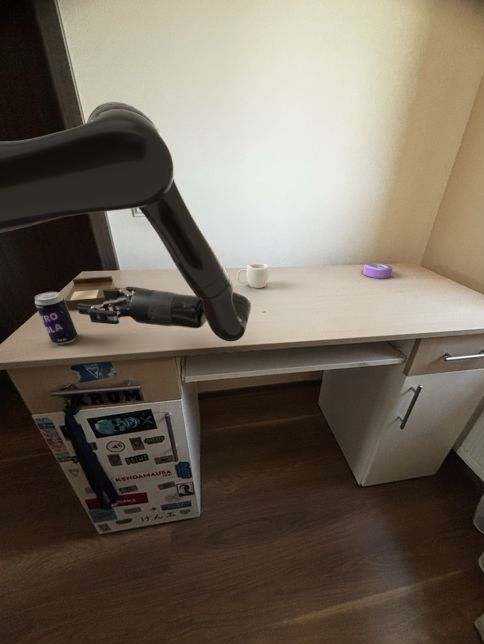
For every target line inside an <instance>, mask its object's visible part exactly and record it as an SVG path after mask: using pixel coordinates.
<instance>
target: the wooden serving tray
mask: <svg viewBox="0 0 484 644" xmlns="http://www.w3.org/2000/svg"><path fill="white" fill-rule="evenodd" d="M72 283H73V284H72V286H71V289H70V290H69V292H68V294H67V295H66V297H65V298H64V300H65V303H66V305H67V308H68V311H72V310H73V311H74V310H78V309H77V305H78V304H79V303H81V304H90V305H100V304H103V302H105V301H111V300H114V299H106V298H105V297H104V294H103V290H105V289H112V290H116V286H115V283H114V278H113V275H105V276H90V277H75V278H72ZM108 307H112V305H109V306H108Z"/></svg>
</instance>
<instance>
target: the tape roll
mask: <svg viewBox="0 0 484 644" xmlns="http://www.w3.org/2000/svg"><path fill="white" fill-rule="evenodd" d="M392 272H393V266H391V265H389V264H387V263H383V262H375V261H373V262H372V261H371V262H366V263H364V266H363V270H362V274H363V275H364V276H366V277H369V278H374V279H389V278H390V277H391V275H392Z"/></svg>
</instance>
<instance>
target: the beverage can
mask: <svg viewBox="0 0 484 644" xmlns="http://www.w3.org/2000/svg"><path fill="white" fill-rule="evenodd" d="M34 305H35V308H36V310H37V312H38V314H39V316H40V319H41V321H42V323H43V325H44V327H45V330H46V332H47V335H48V336H49V338H50V339H49V340H50V341H51V342H52V343H55V344H57V345H67V344H71V343H72V342H74V341H75V340H76V339H77V337H78V332H77V329H76V327H75V324H74V322H73V319H72V316H71V314H70V313H71V312H70V310H68V308H67V305H66V303H65V298H64V297H63V296H62V295H61V293H60V292H58V291H46V292H43V293H39V294H37V295H35V296H34Z"/></svg>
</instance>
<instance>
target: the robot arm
mask: <svg viewBox="0 0 484 644" xmlns="http://www.w3.org/2000/svg"><path fill="white" fill-rule="evenodd" d="M172 154H173V153H172V151H171V149H170V147H169V145H168V143H167V141H166V139H165V138H164V136H163V135H162V134H161V132H160V130H159V129H158V128H157V126H156V125H155V123H154V122H153V121H152V120H151V119H150V117H149V116H147V115H146V114H145V113H144V112H143V111H141V110H139V109H138V108H136V107H134V106H132V105H131V104H127V103H125V102H122V101H121V102H120V101H108V102H104V103H102V104H99V105H98V106H97V107H95V108H94V109H93V110H92V112H91V113H90V115H89V116H88V119H87V121H86V123H83V124H80V125H77V126H75V127H72V128H68V129H65V130H62V131H58V132H57V131H56V132H53V133H49V134H46V135H42V136H38V137H34V138H28V139H22V140H21V139H20V140H13V141H12V140H11V141H7V140H6V141H0V234H2V233H6V232H11V231H16V230H20V229H23V228H28V227H32V226H36V225H39V224H42V223H43V224H44V223H46V222H49V221H52V220H53V221H54V220H57V219H62V218H66V217H67V218H68V217H72V216H73V217H74V216H79V215H87V214H94V213H95V214H96V213H105V212H113V211H123V210H133V209H138V210H139V211H140V212H141V213H142V214H143V215H144V217H145V218H146V220H147V221H148V222H149V224H150V225H151V227H152V229H154V231H155V233H156V234H157V236H158V238H159V239H160V241H161V242H162V244H163V246H164V247H165V249H166V251H167V253H168V254H169V256H170V258H171V260H172V262H173V263H174V265H175V267H176V268H177V270H178V272H179V273H180V275H181V276H182V278H183V280H184V281H185V282H186V284H187V285H188V287H189V288H190V290H191V291H192V292H193V294H194V295H193V294H187V293H177V292H174V291H173V292H172V291H168V290H157V289H149V288H144V287H136V286H126V287H125V289H123V288H119V289H115V290H112V289H105V290H103V294H104V297H105V298H106V299H113V300H111V301H105V302H103V304H100V305H90V304H81V303H79V304H78V305H77V309H76V310H77V312H78V314H79V315H85V316H89V319H90V323H94V324H95V323H96V324H107V325H118V324H120V320H119V319H120V318H128V317H130V318H131V319H132V320H133V321H135V322H136V323H138V324H146V325H152V326H153V325H154V326H161V327H178V328H179V327H180V328H181V327H182V328H188V329H200V328H202V327H203V326H204V325H205V324H206V323H207V325H208V326H209V329H210V330H211V331H212V333H213V334H214V335H215V336H216V337H218V338H219V339H221V340H223V341H225V342H236V341H239V340H241V338H242V337H243V336H244V335H245V333H246V330H247V325H248V322H249V318H250V314H251V310H252V303H251V300H250V299H249V297H248V296H247V295H245V294H244V293H242V292H239V291H235V290H234V286H233V285H234V284H233V282H232V280H231V278H230V276H229V274H228V272H227V270H226V268H225V267H224V265H223V263H222V261H221V259H220V257H219V256H218V254H217V252H216V251H215V249H214V248H213V246H212V245H211V243H210V241H209V240H208V238H207V237H206V235H205V234H204V232H203V231H202V229H201V228H200V225H199V224H198V223H197V221H196V220H195V218H194V215H193V214H192V213H191V211H190V208H189V207H188V205H187V204H186V202H185V199H184V198H183V195H182V193H181V192H180V189H179V187H178V185H177V183H176V180H175V162H174V158H173V155H172ZM109 305H111V309H110V308H109V307H110V306H109Z"/></svg>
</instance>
